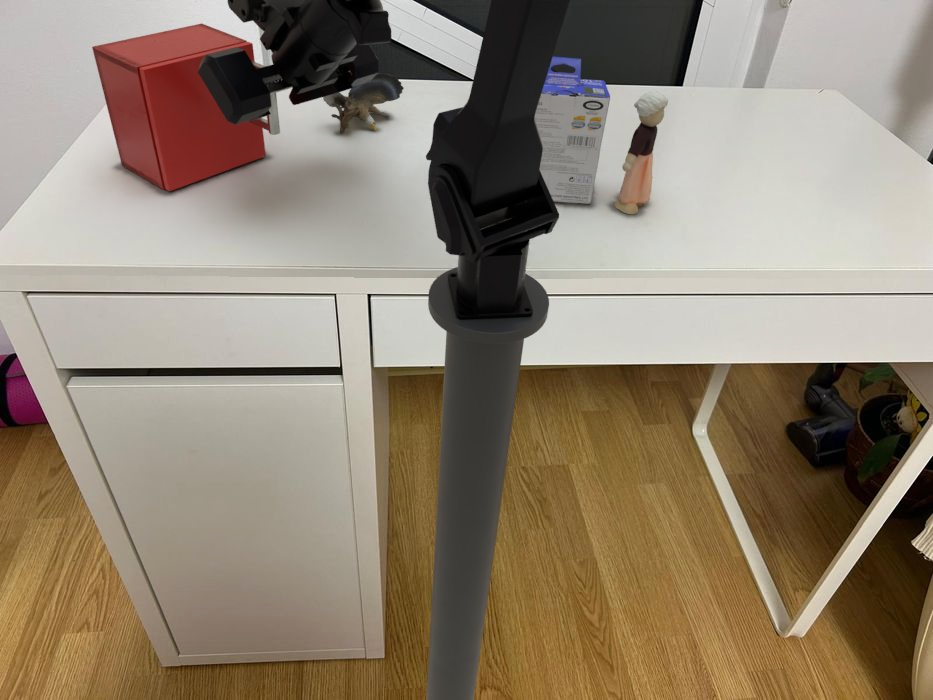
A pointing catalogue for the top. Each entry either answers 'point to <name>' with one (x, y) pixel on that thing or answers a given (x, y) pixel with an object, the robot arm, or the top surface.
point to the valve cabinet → (127, 90)
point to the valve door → (198, 122)
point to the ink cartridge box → (571, 131)
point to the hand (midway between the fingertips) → (264, 109)
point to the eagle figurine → (365, 100)
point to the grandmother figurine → (641, 153)
